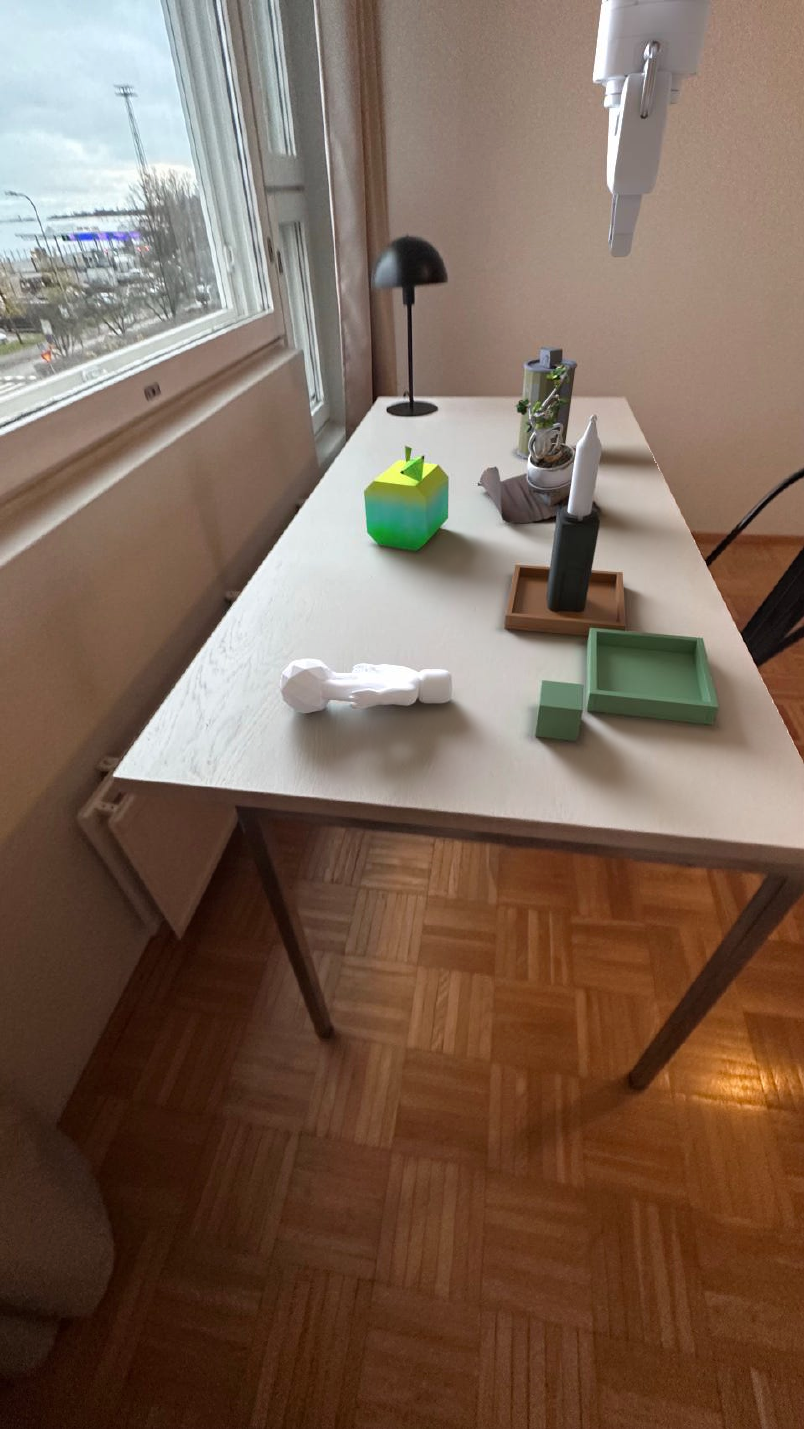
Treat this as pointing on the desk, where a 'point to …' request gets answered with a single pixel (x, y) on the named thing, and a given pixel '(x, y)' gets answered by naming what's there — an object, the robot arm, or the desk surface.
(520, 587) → the wood tray
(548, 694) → the green block
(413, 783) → the desk surface
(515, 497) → the potted plant
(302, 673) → the figure
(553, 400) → the canister
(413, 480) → the low-poly cube fruit
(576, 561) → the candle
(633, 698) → the green tray
